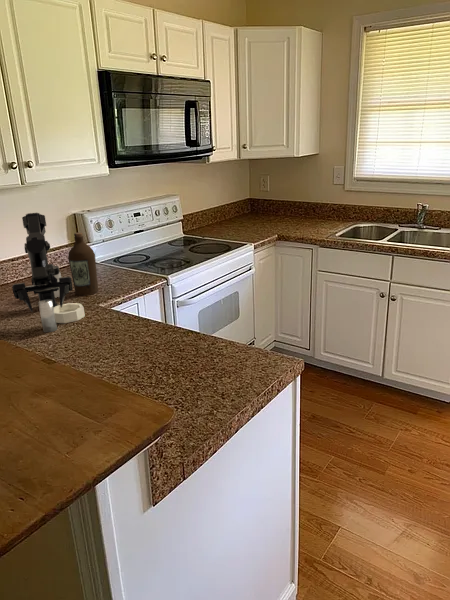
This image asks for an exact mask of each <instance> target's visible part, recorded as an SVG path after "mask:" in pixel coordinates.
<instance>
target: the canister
mask: <svg viewBox="0 0 450 600" xmlns="http://www.w3.org/2000/svg"><path fill="white" fill-rule="evenodd" d="M37 303H38V309H39V315H40V320H41V325H42V326H41V327H42V329H43V332H44V333H52V332H55V331H57V330H58V326H57V325H58V324H57V323H56V319H55V313H54V308H53V302H52V300H50V299H47V300H42V301H38V302H37Z"/></svg>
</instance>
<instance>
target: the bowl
mask: <svg viewBox="0 0 450 600" xmlns="http://www.w3.org/2000/svg"><path fill="white" fill-rule="evenodd" d="M54 313H55V319H56V324H67V323H72V322H78V321H79V320H81V319H83V318H84V317H86V315H85V308H84V306H83V304H82V303H79V302H78V303H76V302H75V303H73V302H68V303H63V305H62V307H60V304H58V306H55V307H54Z"/></svg>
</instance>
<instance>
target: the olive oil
mask: <svg viewBox="0 0 450 600" xmlns="http://www.w3.org/2000/svg"><path fill="white" fill-rule="evenodd" d="M73 235H74V244H73V246H72V247H71V248H70V250H69V251H68V256H67V259H68V263H69V268H70V272H71V279H72V284H73V287H74V293H75V295H77V296H89V295H93V294H97V293H98V292H99V284H98V273H97V261H96V255H95V252H94V250H93V248H92V247H90V246H89V245H88V244H87V243H86V242H85V239H84V236H83V232H74V234H73Z"/></svg>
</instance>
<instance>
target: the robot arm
mask: <svg viewBox="0 0 450 600" xmlns="http://www.w3.org/2000/svg"><path fill="white" fill-rule="evenodd" d="M21 218H22V225H23V229H25V230H26V233H27V236H26V238H25V243H24V253H25V254H27V256H28V259H29V263H30V269H31V279H30V280H31V285H26V282H19V283H13V284H12V286H11V288H12V289H11V290H12V293H13V296H14V299H17V300H18V299H19V301H23V302H24V303H25V304H26V306H27V307H28V309H29V310H30V312H31V313H34V311H33V307H32V303H31V300H30V298H29V293H30V292H33V294H34V295H38V300H39V301H42V300H47V299H50V300H52V302H53V308H54V307H55V306H58V305H60V307H62V305H63V304H64V301H65V298H66V295H67V294H69V293H70V292H72V291H73V279H72V277H71V276H61V278H59V282H58V281H57V279H56V277H55V275H54V276H53V274H54V269H53V266H54V264H53V263H49V261H48V257H47V256H48V255H47V254H48V252H49V251H50V249H51V245H50V243H49V242H48V240H46V237H45V233H47V232H46V227H47V219H46V215H45V214H41V213H40V212H30V213H26V214H25V215H24V216H22V217H21ZM57 290H59V292H60V297H59V304H58V303H57V301H56V298H55V296H54V291H57ZM39 301H38V302H39Z"/></svg>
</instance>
